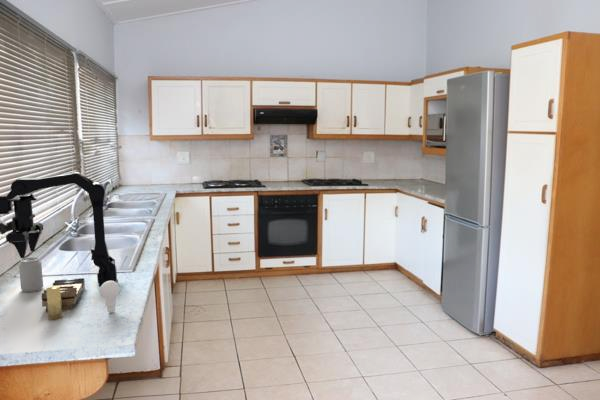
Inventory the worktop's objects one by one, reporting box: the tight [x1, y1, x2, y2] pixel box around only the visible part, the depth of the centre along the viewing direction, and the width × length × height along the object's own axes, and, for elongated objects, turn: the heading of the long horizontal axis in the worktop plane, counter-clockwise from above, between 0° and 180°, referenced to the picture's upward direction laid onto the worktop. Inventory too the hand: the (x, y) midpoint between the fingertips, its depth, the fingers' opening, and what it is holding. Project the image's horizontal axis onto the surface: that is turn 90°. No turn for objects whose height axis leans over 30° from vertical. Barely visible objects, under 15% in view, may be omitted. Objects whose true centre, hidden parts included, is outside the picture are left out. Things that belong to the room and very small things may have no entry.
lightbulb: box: [99, 281, 121, 314], centre depth 165 cm, size 6×6×11 cm
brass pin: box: [45, 286, 63, 321], centre depth 161 cm, size 4×4×10 cm
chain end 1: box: [40, 284, 82, 313], centre depth 174 cm, size 10×16×6 cm, turn 15°
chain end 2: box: [52, 277, 86, 305], centre depth 180 cm, size 10×16×4 cm, turn 15°
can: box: [18, 256, 44, 293], centre depth 187 cm, size 8×8×12 cm
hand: (27, 254), depth 183 cm, fingers open, 9 cm apart
